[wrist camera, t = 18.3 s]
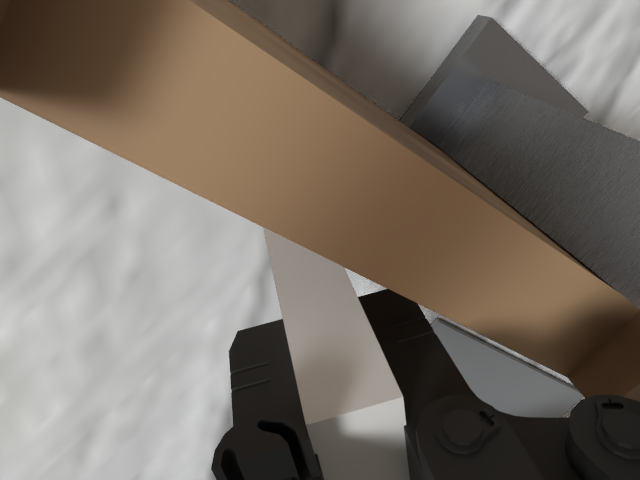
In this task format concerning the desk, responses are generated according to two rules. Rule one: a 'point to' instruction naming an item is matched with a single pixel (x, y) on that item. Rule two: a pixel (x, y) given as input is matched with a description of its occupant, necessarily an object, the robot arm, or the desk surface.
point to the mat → (505, 377)
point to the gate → (313, 169)
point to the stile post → (537, 150)
